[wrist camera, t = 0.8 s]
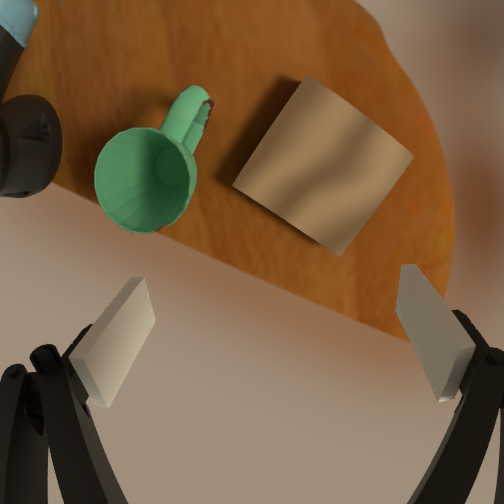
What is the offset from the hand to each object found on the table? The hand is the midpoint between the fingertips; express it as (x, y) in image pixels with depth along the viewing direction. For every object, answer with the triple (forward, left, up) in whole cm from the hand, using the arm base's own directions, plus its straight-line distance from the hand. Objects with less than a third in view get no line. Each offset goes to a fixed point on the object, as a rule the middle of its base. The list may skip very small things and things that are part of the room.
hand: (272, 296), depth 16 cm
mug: (-12, -1, -22) cm, 25 cm away
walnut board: (+2, +6, -22) cm, 23 cm away
